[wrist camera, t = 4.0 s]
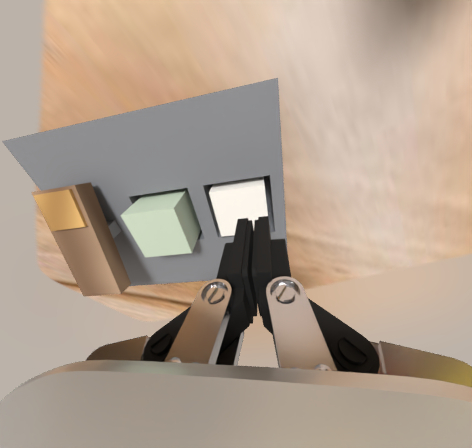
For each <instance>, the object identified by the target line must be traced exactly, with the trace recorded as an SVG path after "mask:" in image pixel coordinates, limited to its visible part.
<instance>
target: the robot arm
mask: <svg viewBox="0 0 472 448" xmlns="http://www.w3.org/2000/svg"><path fill="white" fill-rule="evenodd" d="M257 303H258V308H259V313H260V316H262V319H263V324H264V327H265V328H267V330H269V332H271V333H272V334H273V339H274V344H275V350H276V355H277V361H278V366H279V368H270V367H252V366H237V365H238V360H239V356H240V350H241V346H242V342H243V338H244V330H245V329H246V328H247V327H249V325H250V323H253V316H257ZM0 448H472V366H470V365H468V364H467V363H465V362H463V361H460V360H457V359H455V358H452V357H447V356H442V355H439V354H434V353H430V352H425V351H421V350H417V349H412V348H408V347H404V346H400V345H395V344H391V343H386V342H382V341H380V342H379V343H375V342H370V341H368V340H367V339H366V338H365V337H363V336H362V335H361V334H359V333H358V332H356V331H355V330H354V329H352V328H351V327H349V326H348V325H346V324H345V323H343V322H342V321H341V320H339V319H338V318H336V317H335V316H333V315H332V314H330V313H329V312H327V311H326V310H324V309H323V308H322V307H320V306H319V305H317V304H316V303H314V302H313V301H311V300H310V299H308V297H307V295H306V293H305V290H304V288H303V286H302V285H301V283H300V282H298V281H297V280H296V279H294V278H291V273H290V267H289V260H288V254H287V248H286V241H285V239H272V240H271V235H270V226H269V217H268V216H263V217H258V220H255V223H254V229H253V223H252V220H248V218H242V219H238V220H237V225H236V230H235V235H234V240H233V242H231V243H225V246H224V250H223V254H222V258H221V262H220V266H219V270H218V274H217V278H216V279H214V280H210V281H208V282H207V283H205V284H204V285H203V286H202V287H201V288H200V290H199V292H198V294H197V296H196V298H195V300H194V302H193V304H192V306H191V307H189V308H188V309H187V310H185V311H184V312H183V313H181V314H180V315H178V316H177V317H176V318H174V319H173V320H172V321H170V322H169V323H168V324H166V325H165V326H164V327H162V328H161V329H160V330H158V331H157V332H156V333H154V334H153V335H152V336H151V337H148V336H147V335H146V336H142V337H137V338H133V339H129V340H125V341H120V342H116V343H112V344H107V345H104V346H102V347H99V348H98V349H96V350H95V351H94V352H92V353H91V355H90V356H89V357H88V358H87V359H86V361H82V362H75V363H71V364H67V365H63V366H60V367H57V368H54V369H52V370H49V371H47V372H44V373H42V374H40V375H38V376H36V377H34V378H32V379H30V380H28V381H26V382H25V383H23V384H21V385H20V386H18V387H17V388H16V389H14V390H13V391H12V392H10V393H9V394H8V395H7V396H6V397H5V398H4V399H3V400H1V402H0Z"/></svg>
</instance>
